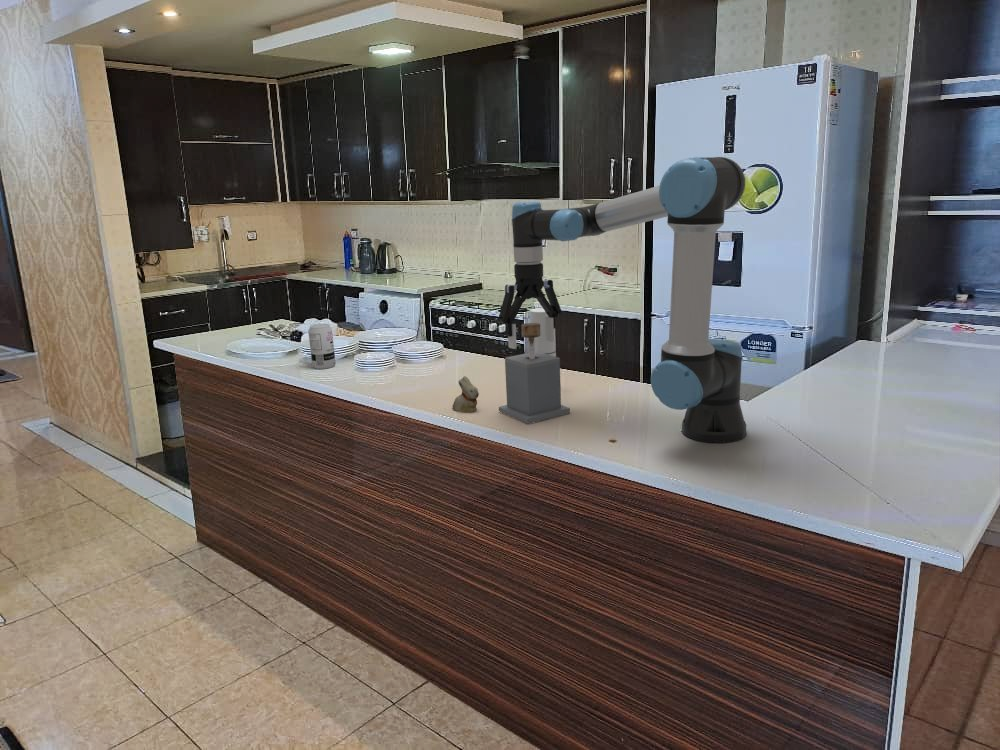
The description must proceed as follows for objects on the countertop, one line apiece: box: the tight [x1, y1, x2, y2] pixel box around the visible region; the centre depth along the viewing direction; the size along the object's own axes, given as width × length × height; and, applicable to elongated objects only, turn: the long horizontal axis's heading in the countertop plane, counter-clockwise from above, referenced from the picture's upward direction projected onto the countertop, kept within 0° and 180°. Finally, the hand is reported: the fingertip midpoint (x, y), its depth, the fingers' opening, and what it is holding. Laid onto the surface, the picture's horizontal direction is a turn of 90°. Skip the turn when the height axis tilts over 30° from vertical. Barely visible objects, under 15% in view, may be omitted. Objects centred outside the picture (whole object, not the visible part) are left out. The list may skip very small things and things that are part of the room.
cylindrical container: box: [529, 307, 557, 357], centre depth 217 cm, size 7×7×25 cm
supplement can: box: [307, 323, 336, 370], centre depth 263 cm, size 8×8×15 cm
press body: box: [498, 351, 571, 425], centre depth 200 cm, size 14×14×16 cm
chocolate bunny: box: [452, 375, 480, 413], centre depth 206 cm, size 6×8×10 cm
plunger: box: [521, 322, 541, 360], centre depth 198 cm, size 8×8×20 cm
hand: (531, 344), depth 197 cm, fingers open, 11 cm apart
